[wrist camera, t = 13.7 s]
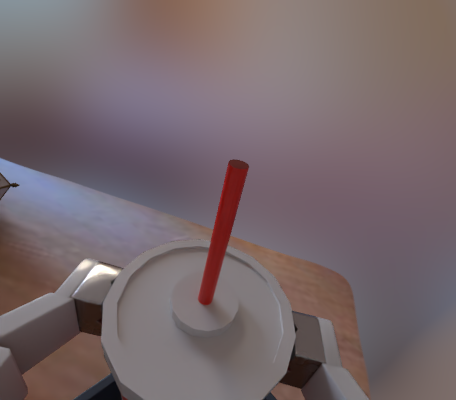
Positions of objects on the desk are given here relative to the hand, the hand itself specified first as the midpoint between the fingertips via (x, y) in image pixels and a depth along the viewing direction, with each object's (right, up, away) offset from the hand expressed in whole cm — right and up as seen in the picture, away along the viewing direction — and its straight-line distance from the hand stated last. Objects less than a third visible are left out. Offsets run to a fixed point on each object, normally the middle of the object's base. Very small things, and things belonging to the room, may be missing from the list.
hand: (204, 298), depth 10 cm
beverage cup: (-2, -7, +4) cm, 8 cm away
